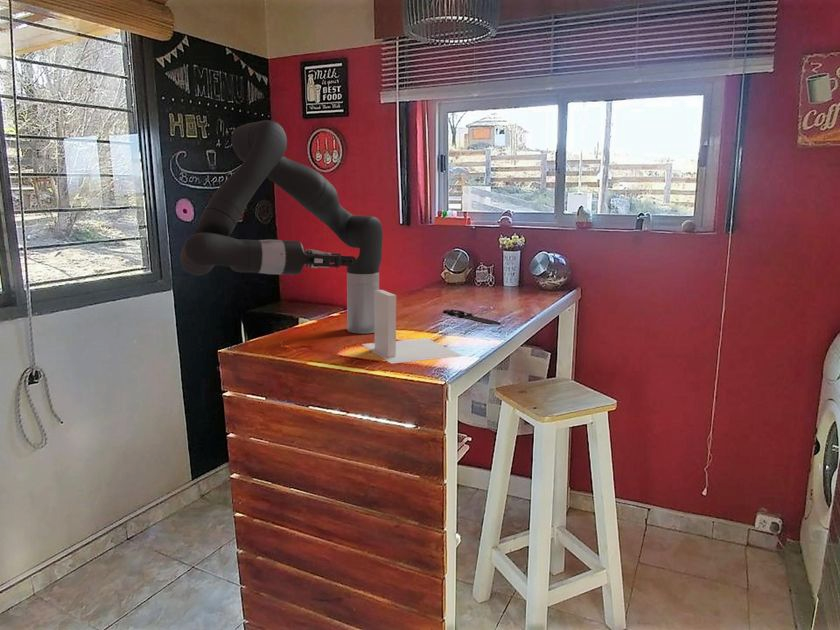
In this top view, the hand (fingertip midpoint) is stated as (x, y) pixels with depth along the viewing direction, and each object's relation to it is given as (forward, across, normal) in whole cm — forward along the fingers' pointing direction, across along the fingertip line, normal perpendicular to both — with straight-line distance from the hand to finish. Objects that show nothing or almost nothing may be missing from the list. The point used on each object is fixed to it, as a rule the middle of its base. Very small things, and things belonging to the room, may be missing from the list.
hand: (347, 259), depth 140 cm
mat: (+19, 0, +23) cm, 30 cm away
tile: (+12, +1, +23) cm, 25 cm away
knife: (+58, +30, +20) cm, 69 cm away
